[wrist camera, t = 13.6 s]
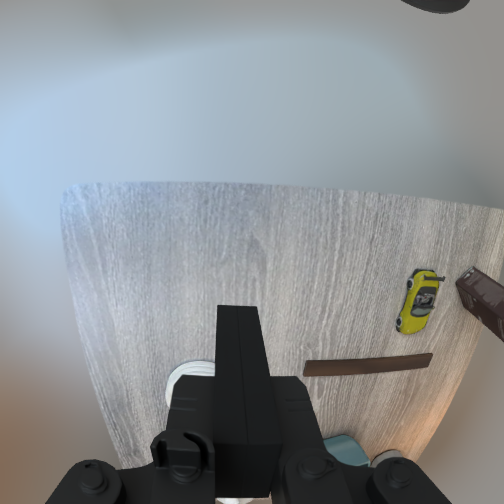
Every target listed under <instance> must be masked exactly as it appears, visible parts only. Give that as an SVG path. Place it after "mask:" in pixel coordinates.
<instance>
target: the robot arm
mask: <svg viewBox="0 0 504 504" xmlns="http://www.w3.org/2000/svg"><path fill="white" fill-rule="evenodd" d="M150 449H151V453H152V457H153V462H152V463H150V464H148V465H145V466H142V467H138V468H131V469H121V470H115V468H114V467H113V466H111V465H110V464H108V463H106V462H104V461H99V460H96V459H94V460H84V461H81V462H79V463H76V464H75V465H74V466H73V467H72V468H71V469H70V470H69V471H68V472H67V474H66V475H65V476H64V478H63V479H62V480H61V482H60V483H59V485H58V486H57V488H56V489H55V490H54V492H53V493H52V495H51V496H50V498H49V499H48V500H47V502H46V503H45V504H215V498H268V497H269V494H270V491H271V497H272V504H452V503H451V502H450V501H449V500H448V499H447V498H446V497H445V495H444V494H442V492H441V491H440V490H439V489H438V488H437V487H436V486H435V484H434V483H433V482H432V481H431V480H430V479H429V477H428V476H427V475H426V474H425V473H424V472H423V471H422V470H421V468H420V467H419V466H418V465H417V464H415V463H414V462H413V461H412V460H409V459H406V458H404V457H390V458H386V459H384V460H383V461H381V462H380V463H378V464H377V466H376V468H375V467H363V466H353V465H348V464H345V463H342V462H340V461H338V460H337V459H336V457H334V456H333V455H332V454H330V453H329V452H328V451H327V449H326V447H325V444H324V441H323V438H322V435H321V432H320V428H319V425H318V422H317V419H316V416H315V413H314V411H313V407H312V403H311V401H310V397H309V394H308V391H307V388H306V386H305V385H304V384H303V383H302V382H301V381H300V380H299V378H298V377H297V376H270V372H269V367H268V362H267V357H266V352H265V346H264V341H263V336H262V331H261V325H260V320H259V315H258V310H257V307H256V306H232V305H217V325H216V350H215V376H201V375H185V374H182V375H181V377H180V378H179V379H178V380H177V381H176V383H175V384H174V386H173V391H172V399H171V403H170V410H169V414H168V420H167V426H166V430H165V431H163V432H161V433H160V434H159V435H157V436H156V437H155V438H154V439H153V442H152V444H151V446H150Z"/></svg>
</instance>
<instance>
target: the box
mask: <svg viewBox="0 0 504 504" xmlns="http://www.w3.org/2000/svg"><path fill="white" fill-rule="evenodd" d="M456 285H457V288H458V290H459V293H460V296H461V299H462V302H463V306H464V307H465V308H466V309H467V310H468V311H469V312H470V313H472V314H473V315H474V316H475V317H476V318H477V319H478V320H480V321H481V322H482V323H483V324H484V325H485V326H486V327H488V328H489V329H490V330H491V331H492V332H493V333H494V334H495V335H496V336H497V337H499V338H500V339H501V340H502V341H503V342H504V287H503V286H502V285H501V284H499V283H498V282H496V281H495V280H493V279H492V278H490V277H489V276H487V275H486V274H484V273H483V272H481V271H480V270H478V269H477V268H475V267H474V266H473V267H472V268H470V269H469V270H468V271H467V272H466V273H464V275H463V276H461V278H459V279H458V280H457V282H456Z"/></svg>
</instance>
